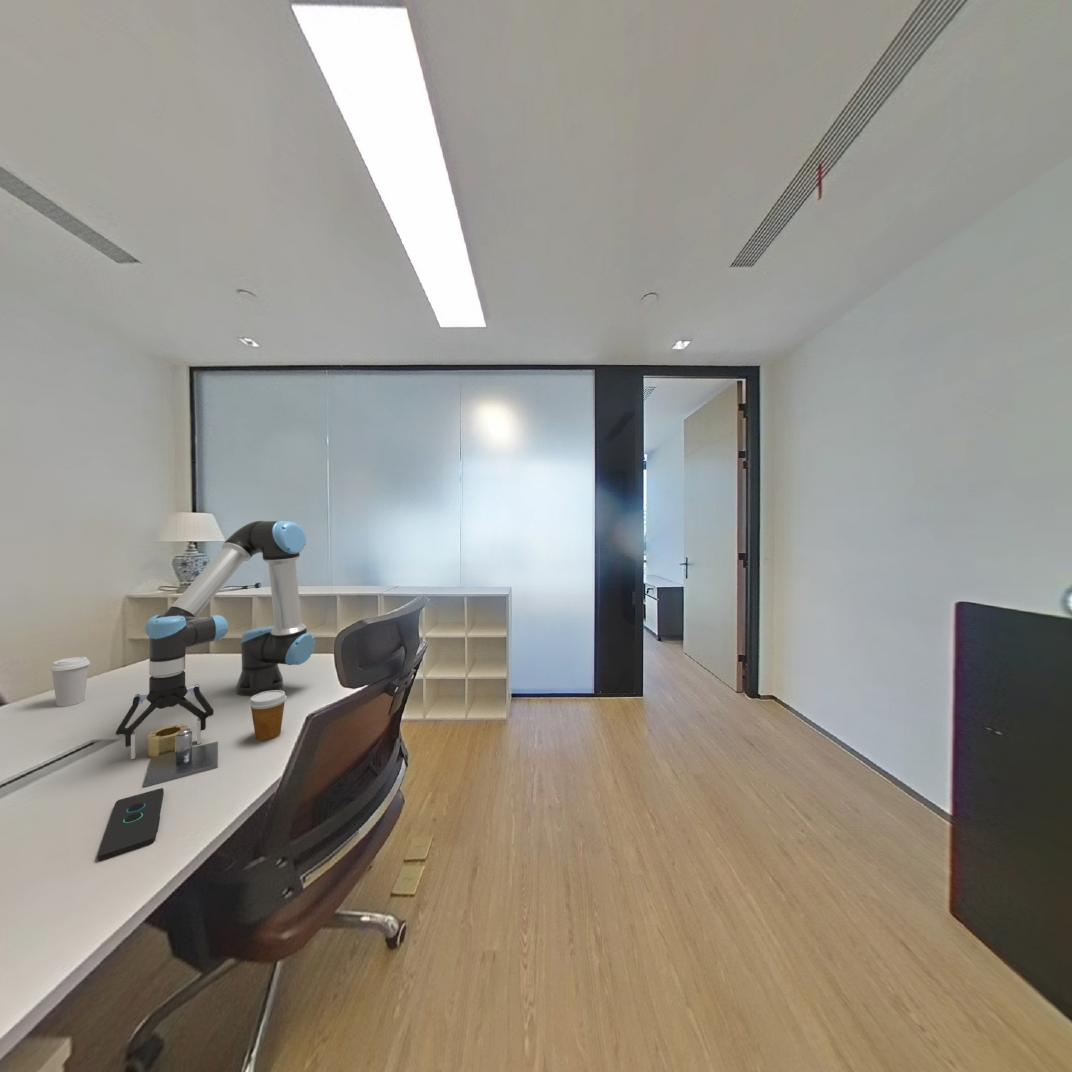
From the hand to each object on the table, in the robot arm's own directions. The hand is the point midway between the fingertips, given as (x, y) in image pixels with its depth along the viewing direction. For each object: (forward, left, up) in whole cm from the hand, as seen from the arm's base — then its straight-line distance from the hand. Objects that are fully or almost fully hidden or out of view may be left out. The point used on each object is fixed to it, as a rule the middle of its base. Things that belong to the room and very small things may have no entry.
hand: (167, 749), depth 116 cm
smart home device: (+3, +34, -1) cm, 34 cm away
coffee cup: (+30, -60, 0) cm, 67 cm away
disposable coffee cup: (-23, +7, 0) cm, 24 cm away
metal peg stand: (-4, +12, 0) cm, 13 cm away
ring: (0, 0, 0) cm, 0 cm away
